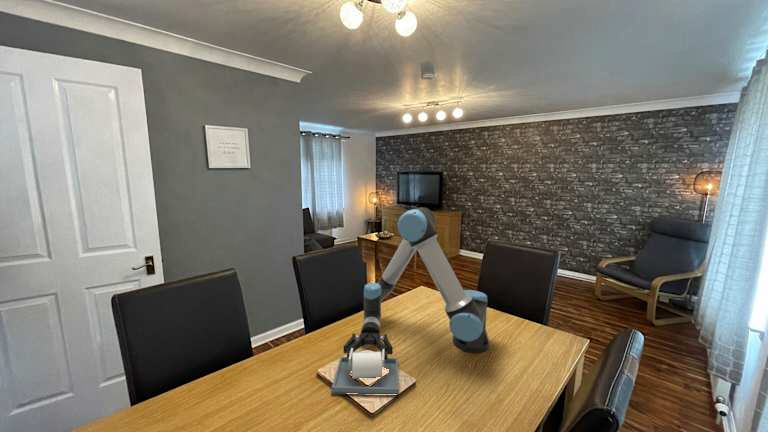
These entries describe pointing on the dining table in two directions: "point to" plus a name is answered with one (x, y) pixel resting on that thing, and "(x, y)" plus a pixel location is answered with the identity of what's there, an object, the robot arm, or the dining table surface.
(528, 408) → the dining table surface
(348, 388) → the tray
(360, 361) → the mug
